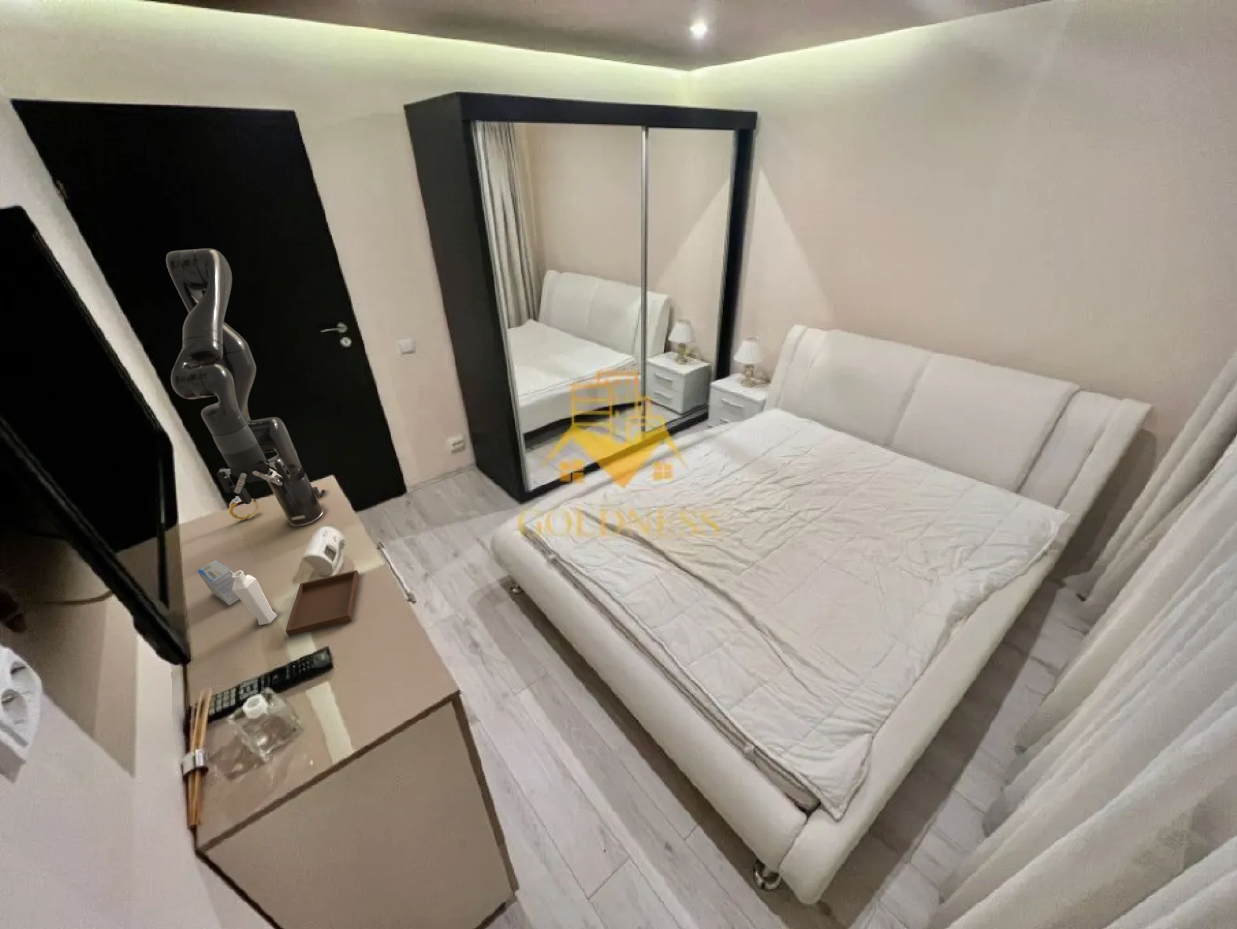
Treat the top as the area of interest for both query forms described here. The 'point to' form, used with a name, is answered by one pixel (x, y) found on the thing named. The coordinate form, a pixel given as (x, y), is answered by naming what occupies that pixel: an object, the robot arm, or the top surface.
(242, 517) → the ring
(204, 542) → the top surface
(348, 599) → the tray
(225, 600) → the medicine box
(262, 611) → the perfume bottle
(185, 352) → the robot arm
